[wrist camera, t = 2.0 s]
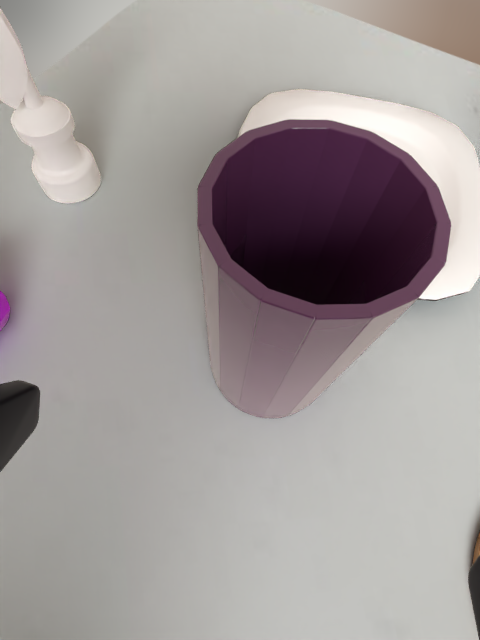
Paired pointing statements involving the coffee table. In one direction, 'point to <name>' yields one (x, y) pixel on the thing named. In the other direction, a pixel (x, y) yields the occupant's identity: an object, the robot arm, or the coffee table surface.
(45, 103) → the decorative finial
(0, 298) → the crystal
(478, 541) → the coaster
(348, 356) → the tumbler
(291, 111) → the plate
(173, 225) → the coffee table surface
